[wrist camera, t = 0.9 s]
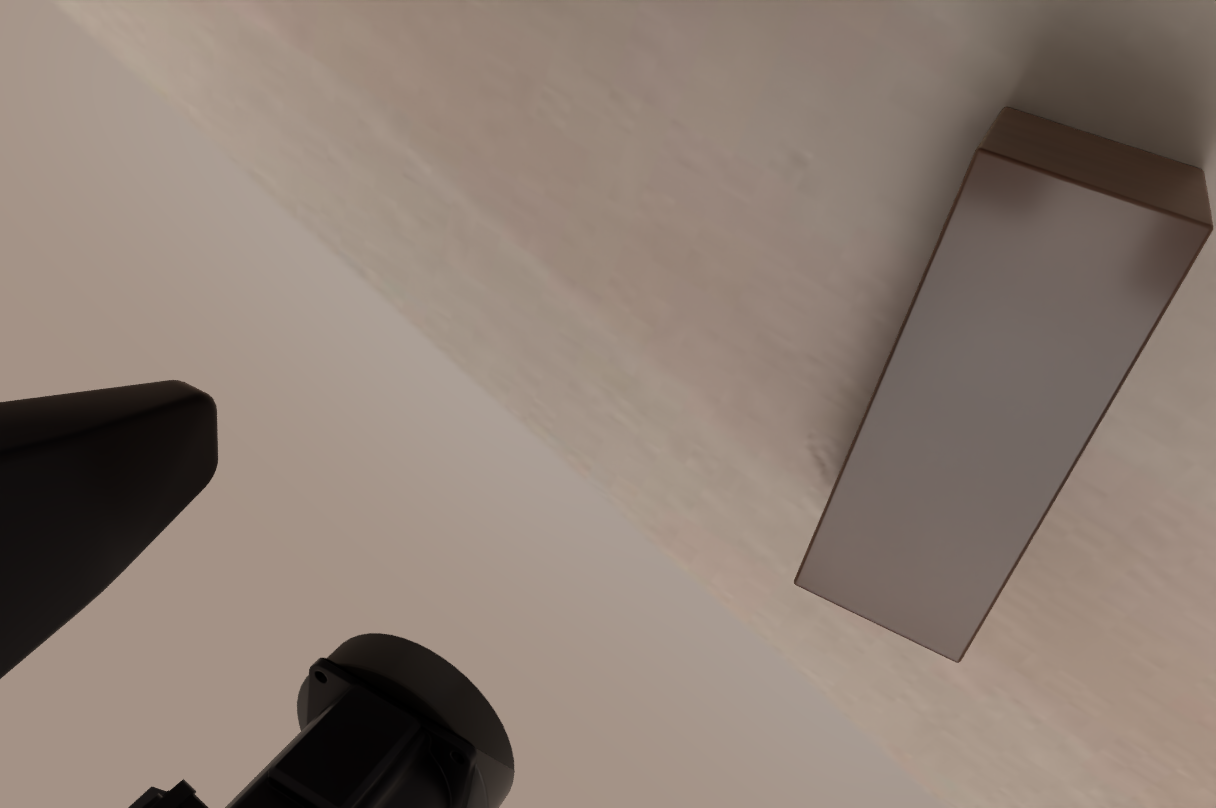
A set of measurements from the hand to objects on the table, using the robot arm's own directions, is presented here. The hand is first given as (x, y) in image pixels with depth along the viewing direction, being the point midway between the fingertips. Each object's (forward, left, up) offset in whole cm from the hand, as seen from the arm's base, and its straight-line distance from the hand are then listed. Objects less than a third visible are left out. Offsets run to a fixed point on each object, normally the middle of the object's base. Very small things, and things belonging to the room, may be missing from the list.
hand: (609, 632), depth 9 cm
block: (-1, -2, -11) cm, 11 cm away
